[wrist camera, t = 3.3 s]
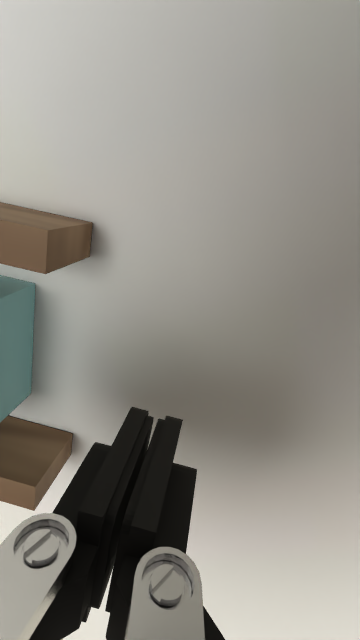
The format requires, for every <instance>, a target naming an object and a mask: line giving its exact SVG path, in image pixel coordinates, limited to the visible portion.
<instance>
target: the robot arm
mask: <svg viewBox="0 0 360 640" xmlns="http://www.w3.org/2000/svg"><path fill="white" fill-rule="evenodd" d="M153 419H154V417H151V416H148V411H146V410H142V409H138V408H135V407H131V409H130V411H129V413H128V415H127V417H126V419H125V421H124V423H123V425H122V427H121V429H120V430H119V432H118V434H117V436H116V438H115V440H114V442H113V444H112V446H109V445H105V444H101V443H97V442H96V443H94V444H93V446H92V447H91V449H90V451H89V452H88V454H87V456H86V457H85V459H84V461H83V462H82V464H81V466H80V467H79V469H78V471H77V473H76V474H75V476H74V478H73V479H72V481H71V483H70V484H69V486H68V488H67V489H66V491H65V493H64V494H63V496H62V498H61V499H60V501H59V503H58V504H57V506H56V508H55V510H54V511H53V513H43V514H39V515H35V516H32V517H30V518H28V519H26V520H25V521H23V522H22V523H21V524H19V525H18V526H17V527H16V528H15V529H14V530H13V531H12V532H11V533H10V534H9V536H8V537H7V538H6V539H5V540H4V541H3V542H2V544H1V545H0V640H63V638H64V637H66V636H67V635H69V634H71V633H72V632H74V631H75V630H77V629H79V627H80V624H81V621H82V622H86V621H87V618H88V615H89V612H90V609H91V607H94V608H97V609H99V607H100V605H101V602H102V599H103V596H104V593H105V590H106V587H107V584H108V581H109V578H110V575H111V572H112V569H113V572H112V578H111V583H110V588H109V594H108V599H107V604H106V610H105V611H107V612H110V617H109V622H108V627H107V632H106V639H107V640H225V639H224V637H223V635H222V634H221V632H220V631H219V629H218V628H217V626H216V625H215V623H214V622H213V620H212V618H211V617H210V615H209V614H208V612H207V611H206V609H205V608H204V606H203V598H202V583H201V578H200V573H199V571H198V569H197V567H196V565H195V563H194V562H193V561H192V560H191V559H190V558H189V556H188V555H186V548H187V541H188V533H189V526H190V519H191V511H192V504H193V496H194V489H195V482H196V474H197V469H194V468H190V467H186V466H183V465H179V464H175V463H173V459H174V454H175V450H176V446H177V442H178V438H179V433H180V429H181V425H182V421H183V420H181V419H177V418H173V417H169V416H166V418H165V420H162V419H158V422H157V424H156V427H155V430H154V433H153V436H152V439H151V441H150V444H149V439H150V434H151V429H152V424H153ZM148 444H149V447H148ZM147 449H148V450H147ZM113 566H114V567H113Z"/></svg>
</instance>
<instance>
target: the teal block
mask: <svg viewBox="0 0 360 640" xmlns="http://www.w3.org/2000/svg"><path fill="white" fill-rule="evenodd" d="M34 304H35V283H31V282H27V281H23V280H19V279H14V278H10V277H6V276H2V275H0V422H1V421H2V420H3V419H4V418H6V417H7V416H8V415H9V414H10V413H11V412H12V411H13V410H14V409H15V408H16V407H17V406H18V405H19V404H20V403H21V402H22V401H23V400H25V399H26V398H27V397H28V396H29V395H30V394H31V383H32V357H33V330H34Z"/></svg>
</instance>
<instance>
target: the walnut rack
mask: <svg viewBox="0 0 360 640" xmlns="http://www.w3.org/2000/svg"><path fill="white" fill-rule="evenodd" d="M92 225H93V223H92V222H88V221H83V220H78V219H74V218H69V217H65V216H60V215H56V214H51V213H47V212H42V211H37V210H33V209H28V208H24V207H19V206H15V205H10V204H6V203H1V202H0V263H1V264H5V265H9V266H13V267H18V268H22V269H26V270H30V271H35V272H39V273H43V274H47V273H50V272H52V271H55V270H57V269H60V268H62V267H65V266H67V265H70V264H72V263H75V262H77V261H80V260H82V259H85V258H87V257H90V246H91V235H92ZM72 437H73V434H72V433H69V432H65V431H61V430H58V429H54V428H50V427H47V426H43V425H39V424H36V423H32V422H29V421H25V420H21V419H18V418H14V417H10V416H7V417H6V418H4V419H3V420H2V421H1V422H0V501H3V502H6V503H10V504H13V505H17V506H20V507H23V508H27V509H30V510H33V511H34V510H35V509H36V507H37V506H38V504H39V503H40V501H41V500H42V498H43V497H44V495H45V493H46V492H47V490H48V489H49V487H50V486H51V484H52V483H53V481H54V480H55V478H56V477H57V475H58V473H59V472H60V470H61V469H62V467H63V466H64V464H65V463H66V461H67V460H68V458H69V457H70V455H71V447H72Z"/></svg>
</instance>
